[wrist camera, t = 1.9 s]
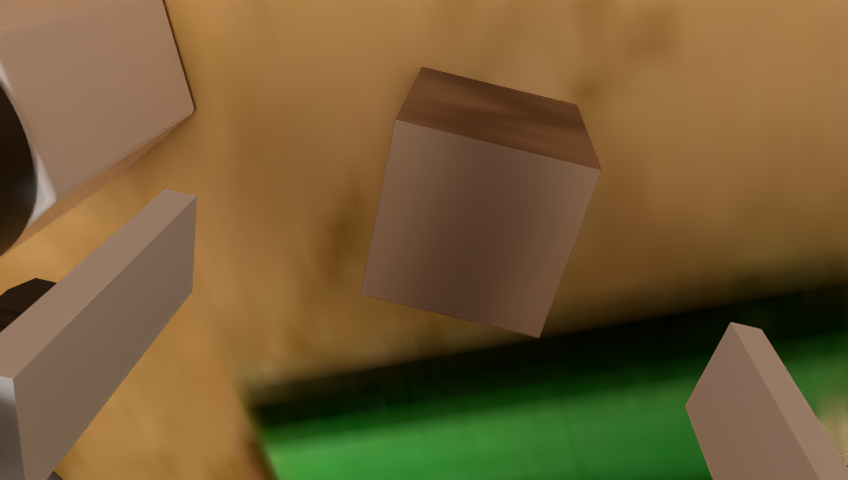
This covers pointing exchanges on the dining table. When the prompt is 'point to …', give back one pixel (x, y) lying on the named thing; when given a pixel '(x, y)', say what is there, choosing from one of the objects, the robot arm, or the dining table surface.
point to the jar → (79, 102)
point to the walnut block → (480, 202)
